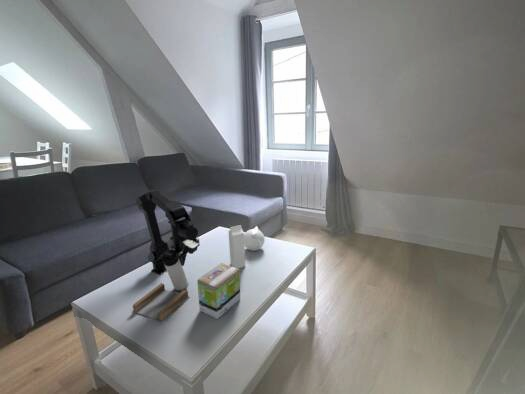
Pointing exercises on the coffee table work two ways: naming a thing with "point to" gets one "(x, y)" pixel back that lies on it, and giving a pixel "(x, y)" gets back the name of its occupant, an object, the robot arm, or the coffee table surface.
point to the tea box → (219, 290)
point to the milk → (237, 247)
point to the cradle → (160, 303)
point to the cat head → (253, 239)
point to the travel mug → (176, 272)
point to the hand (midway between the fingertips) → (182, 265)
